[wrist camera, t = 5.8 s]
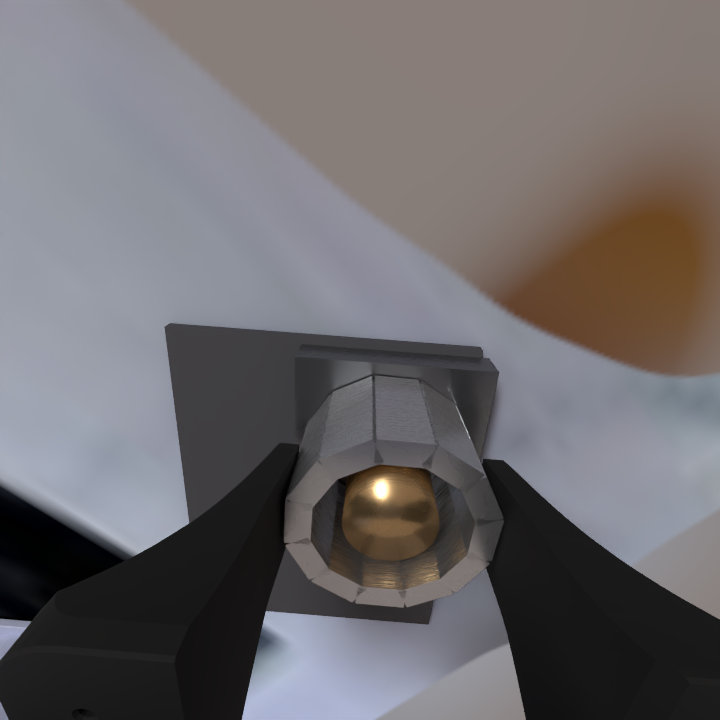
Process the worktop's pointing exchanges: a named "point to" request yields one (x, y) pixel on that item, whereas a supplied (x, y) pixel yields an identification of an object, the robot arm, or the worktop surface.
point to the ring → (398, 448)
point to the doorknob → (387, 482)
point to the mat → (259, 432)
